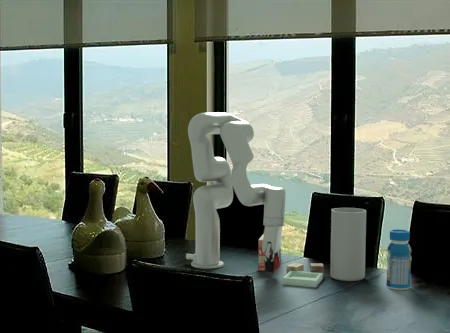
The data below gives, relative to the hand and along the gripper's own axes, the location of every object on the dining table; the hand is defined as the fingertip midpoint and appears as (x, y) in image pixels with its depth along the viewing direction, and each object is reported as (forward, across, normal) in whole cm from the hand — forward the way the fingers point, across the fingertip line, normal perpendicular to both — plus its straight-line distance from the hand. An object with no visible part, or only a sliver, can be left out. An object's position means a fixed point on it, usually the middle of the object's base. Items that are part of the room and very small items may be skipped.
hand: (271, 269), depth 263 cm
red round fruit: (+2, 0, 0) cm, 2 cm away
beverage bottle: (+2, -2, +45) cm, 45 cm away
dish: (+3, +2, +12) cm, 13 cm away
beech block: (+3, -8, +7) cm, 11 cm away
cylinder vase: (+3, -10, +26) cm, 28 cm away
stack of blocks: (+4, -21, -6) cm, 22 cm away
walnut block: (+3, -8, +15) cm, 18 cm away
